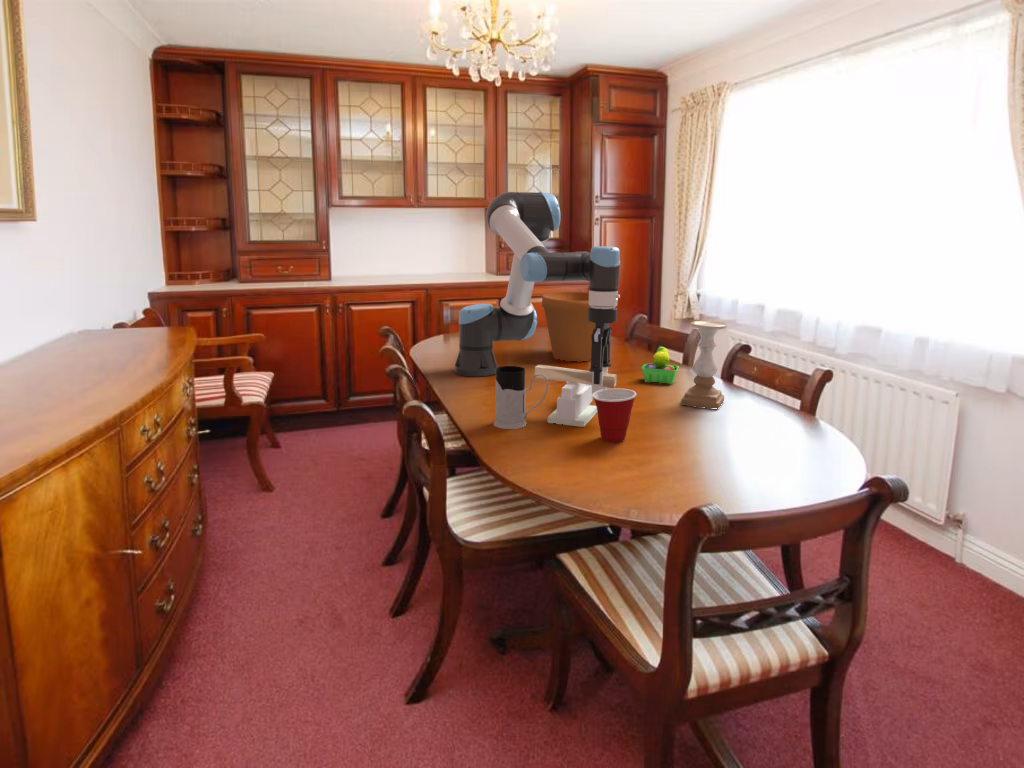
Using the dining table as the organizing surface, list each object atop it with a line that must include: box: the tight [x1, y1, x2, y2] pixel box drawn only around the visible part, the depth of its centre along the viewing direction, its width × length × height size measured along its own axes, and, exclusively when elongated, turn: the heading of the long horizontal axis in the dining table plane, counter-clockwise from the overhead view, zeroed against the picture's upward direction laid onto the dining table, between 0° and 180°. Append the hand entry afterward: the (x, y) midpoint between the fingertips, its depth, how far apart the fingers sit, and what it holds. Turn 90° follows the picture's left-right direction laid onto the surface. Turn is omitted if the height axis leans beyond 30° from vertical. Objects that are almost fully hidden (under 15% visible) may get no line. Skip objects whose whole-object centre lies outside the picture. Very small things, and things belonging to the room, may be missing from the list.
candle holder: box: [680, 320, 728, 409], centre depth 203 cm, size 11×11×24 cm
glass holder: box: [493, 365, 549, 430], centre depth 182 cm, size 9×14×15 cm, turn 88°
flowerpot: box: [541, 291, 617, 363], centre depth 267 cm, size 28×28×24 cm
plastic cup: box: [592, 387, 637, 443], centre depth 171 cm, size 11×11×12 cm
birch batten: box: [534, 364, 617, 389], centre depth 188 cm, size 3×22×3 cm, turn 70°
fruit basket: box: [641, 346, 680, 385], centre depth 231 cm, size 11×9×11 cm
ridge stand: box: [546, 382, 598, 428], centre depth 189 cm, size 16×10×10 cm, turn 160°
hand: (599, 392), depth 187 cm, fingers open, 5 cm apart
